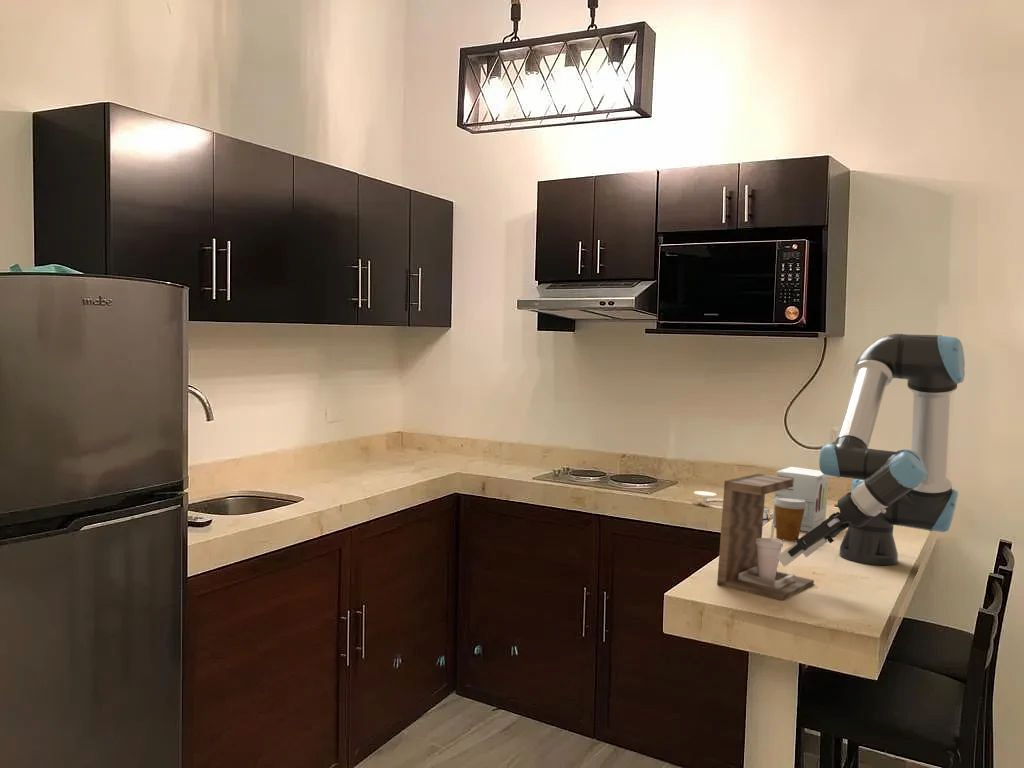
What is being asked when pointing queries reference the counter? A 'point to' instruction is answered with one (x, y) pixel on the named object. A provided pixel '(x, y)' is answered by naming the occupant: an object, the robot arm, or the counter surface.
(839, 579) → the counter surface
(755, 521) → the overhang shelf
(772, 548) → the smoothie
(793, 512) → the disposable coffee cup
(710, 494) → the hand towel holder
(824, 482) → the supplement box
